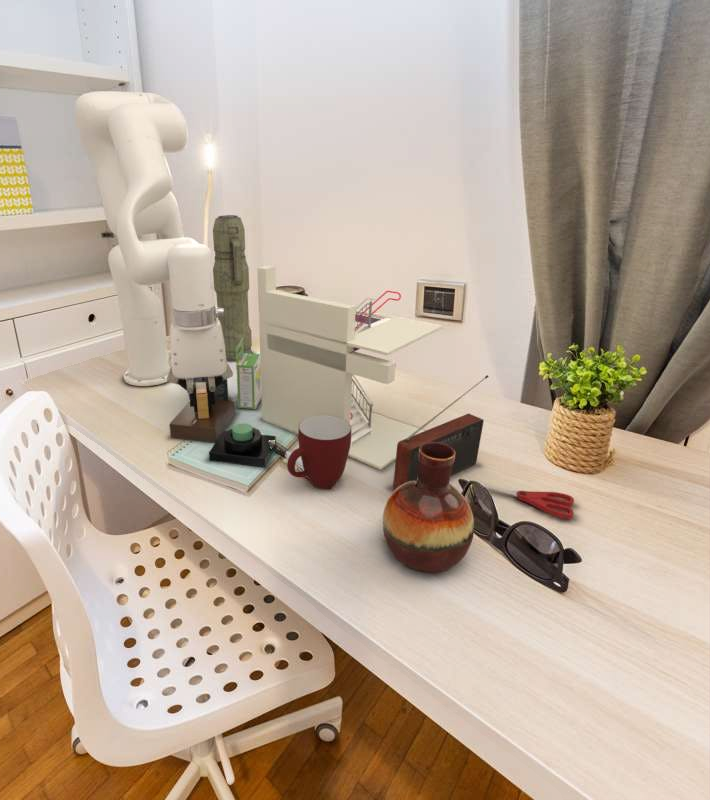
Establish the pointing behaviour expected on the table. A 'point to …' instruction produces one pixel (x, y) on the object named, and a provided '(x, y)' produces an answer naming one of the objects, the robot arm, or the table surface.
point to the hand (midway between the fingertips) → (202, 407)
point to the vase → (429, 515)
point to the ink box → (248, 378)
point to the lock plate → (203, 422)
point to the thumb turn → (202, 400)
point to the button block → (242, 449)
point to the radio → (454, 433)
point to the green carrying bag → (232, 283)
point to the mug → (322, 450)
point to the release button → (242, 432)
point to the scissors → (544, 501)
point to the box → (220, 391)
